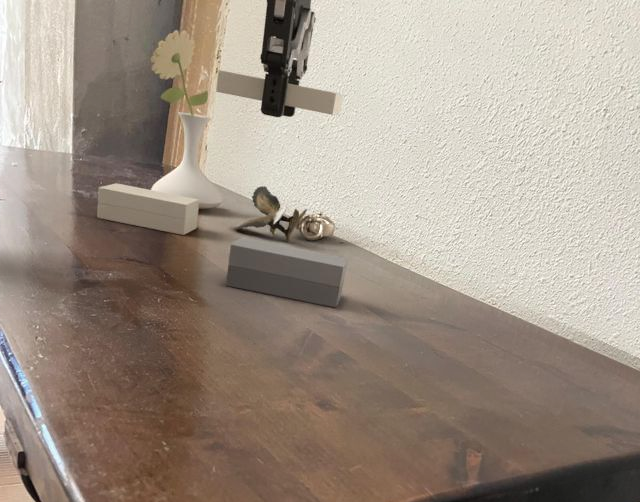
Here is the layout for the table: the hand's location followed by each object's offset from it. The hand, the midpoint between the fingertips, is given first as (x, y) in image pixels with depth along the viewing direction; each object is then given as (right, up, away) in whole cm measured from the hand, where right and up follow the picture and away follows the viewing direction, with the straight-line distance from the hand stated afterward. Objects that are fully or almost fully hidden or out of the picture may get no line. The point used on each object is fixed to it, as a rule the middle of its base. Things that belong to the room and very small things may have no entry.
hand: (277, 115), depth 78 cm
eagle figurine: (-4, -5, +32) cm, 32 cm away
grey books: (+1, -18, +4) cm, 18 cm away
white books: (-19, -4, +25) cm, 32 cm away
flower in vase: (-18, +3, +42) cm, 46 cm away
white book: (0, +1, 0) cm, 1 cm away
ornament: (+3, -4, +37) cm, 37 cm away
